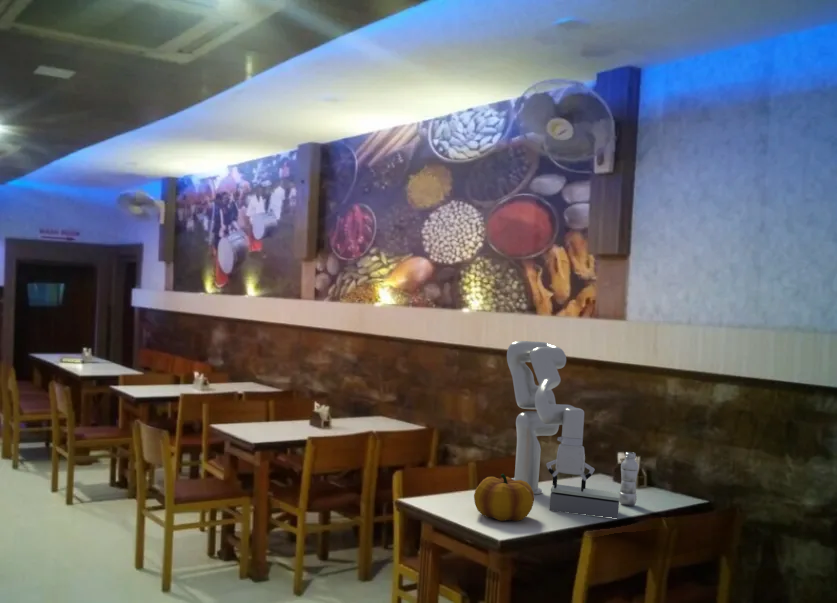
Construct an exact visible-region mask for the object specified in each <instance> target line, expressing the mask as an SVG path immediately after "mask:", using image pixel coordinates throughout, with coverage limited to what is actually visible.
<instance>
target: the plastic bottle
mask: <svg viewBox="0 0 837 603" xmlns="http://www.w3.org/2000/svg"><path fill="white" fill-rule="evenodd" d="M638 471H639V464H638V462H637V460H636V452H634V451H633V452H632V451H625V455H624V460H623V461H622V462H621V464H620V474H621V475H620V476H621V477H620V478H621V479H620V480H621V482H620V491H619V493H620V496H619V504H621V505H624V506H628V505H629V506H635V505H636V504H637V501H638V498H637V485H636V484H637V479H638V478H637V477H638V473H639V472H638Z"/></svg>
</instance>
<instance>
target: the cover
mask: <svg viewBox="0 0 837 603" xmlns="http://www.w3.org/2000/svg"><path fill="white" fill-rule="evenodd" d="M551 492H556V493H564V494H571V495H578V496H586V497H593V498H601V499H608V500H616V501H619V496H620V491H619V492H617V491H609V490H603V489H595V488H588V487H585V489H583V492H582V491H581V486H580V487H579V486H571V485H565V484H558V483H557V487H556V488H554V485H553V484H552V487H551V488H550V493H551Z"/></svg>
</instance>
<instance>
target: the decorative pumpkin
mask: <svg viewBox="0 0 837 603" xmlns="http://www.w3.org/2000/svg"><path fill="white" fill-rule="evenodd" d="M473 498H474V499H473V500H474V501H473V502H474V504H475V507H476V509H477V512H479V514H480V515H482V516H484V517H487V518H491V519H492V518H493V519H495V520H496V521H497V520H498V521H499V522H505V521H515V522H517V521H522V520H524V519H525V518H526V517H527V516H528V515H529V514H530V512H531V511H532V509H533V506H534V503H535V495H534V493H533V490H532V488H531V486H530V485H529V484H528V483H527V482H525V481H522V480H516V481H515V480H513V479H512V477H509V476H506V475H505V474H504V473H501V474H500V478H499V477H498V478H497V477H496V476H487V477H485V478H483V479H482V481H480V483H479V484H478V486H477V487H476V488H475V491H474V494H473Z"/></svg>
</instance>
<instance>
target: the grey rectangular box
mask: <svg viewBox="0 0 837 603" xmlns="http://www.w3.org/2000/svg"><path fill="white" fill-rule="evenodd" d="M549 496H550V497H549V498H550V499H549V511H551V510H554V511H553V512H558V511H561V513H565V512H569V513H568V514H572V513H578V514H577V515H580V514H586V515H585V516H587V515H595V516H603V517H612V518H617V519H618V518H619V510H620V509H619V507H620V502H619V501H616V500H608V499H601V498H593V497H586V496H578V495H571V494H564V493H556V492H551V491H550V495H549ZM618 520H619V519H618Z"/></svg>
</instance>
